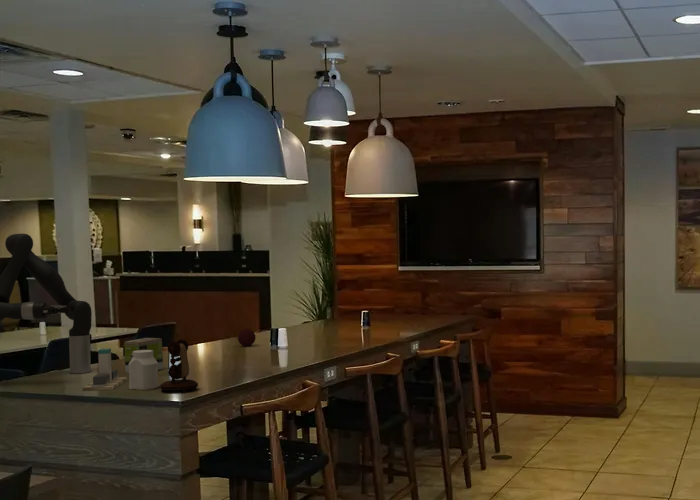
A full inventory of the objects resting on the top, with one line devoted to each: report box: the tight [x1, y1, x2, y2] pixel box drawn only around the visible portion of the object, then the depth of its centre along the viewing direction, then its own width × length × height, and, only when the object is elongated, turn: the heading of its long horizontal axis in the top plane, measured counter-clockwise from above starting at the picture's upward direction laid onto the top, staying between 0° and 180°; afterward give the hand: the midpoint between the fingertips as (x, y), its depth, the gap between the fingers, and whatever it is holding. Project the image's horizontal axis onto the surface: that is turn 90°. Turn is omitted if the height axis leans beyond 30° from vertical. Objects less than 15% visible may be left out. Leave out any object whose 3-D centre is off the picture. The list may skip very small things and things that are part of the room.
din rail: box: [92, 368, 120, 387], centre depth 365 cm, size 25×5×4 cm, turn 1°
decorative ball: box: [237, 328, 257, 347], centre depth 491 cm, size 10×10×10 cm
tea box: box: [123, 337, 164, 374], centre depth 403 cm, size 15×10×15 cm
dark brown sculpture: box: [159, 338, 199, 393], centre depth 346 cm, size 15×15×20 cm
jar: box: [128, 350, 159, 391], centre depth 355 cm, size 12×10×15 cm
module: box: [97, 348, 113, 380], centre depth 365 cm, size 4×4×13 cm
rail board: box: [82, 376, 128, 392], centre depth 365 cm, size 26×12×1 cm, turn 1°
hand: (72, 309), depth 374 cm, fingers open, 8 cm apart
